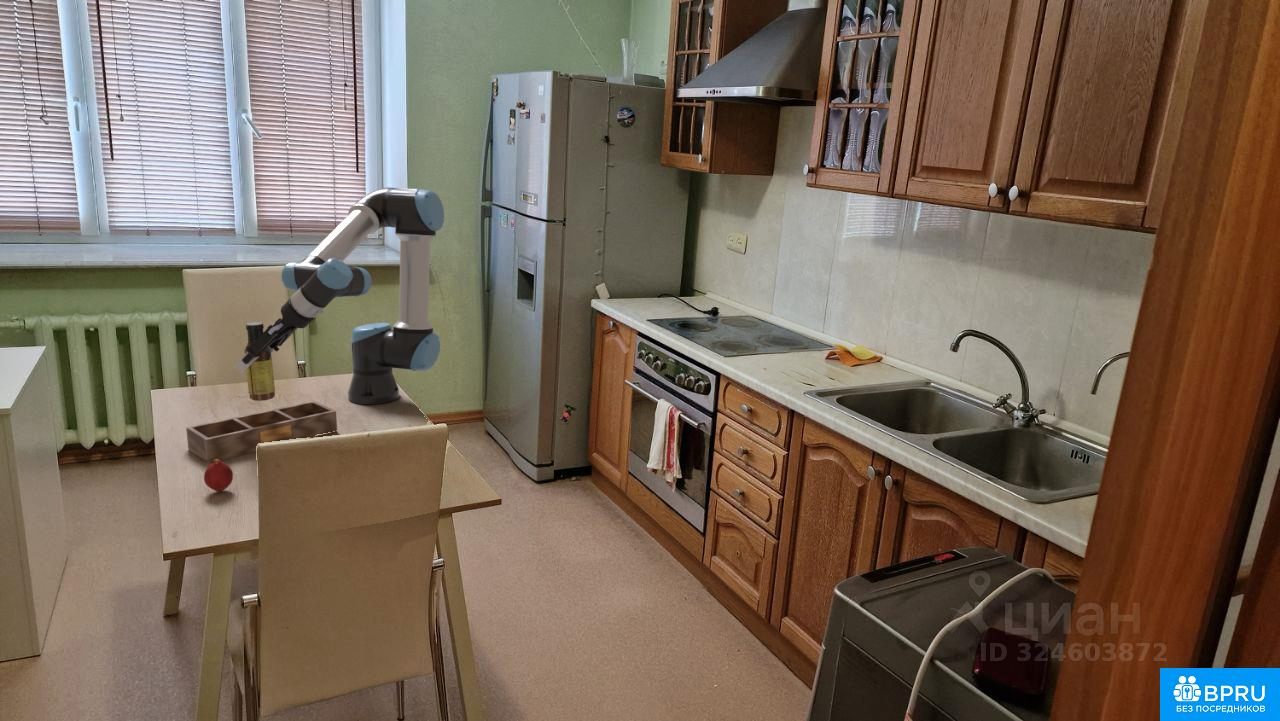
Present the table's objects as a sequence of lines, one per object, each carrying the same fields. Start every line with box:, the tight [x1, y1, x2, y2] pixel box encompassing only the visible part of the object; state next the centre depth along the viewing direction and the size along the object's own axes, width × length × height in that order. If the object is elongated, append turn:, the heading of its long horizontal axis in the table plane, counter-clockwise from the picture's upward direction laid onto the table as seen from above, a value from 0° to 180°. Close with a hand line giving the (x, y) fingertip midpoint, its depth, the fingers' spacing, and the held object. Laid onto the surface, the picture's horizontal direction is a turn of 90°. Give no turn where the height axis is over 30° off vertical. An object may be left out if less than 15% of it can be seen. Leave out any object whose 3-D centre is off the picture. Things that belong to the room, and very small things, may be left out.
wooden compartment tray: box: [185, 400, 338, 464], centre depth 217 cm, size 34×12×6 cm, turn 139°
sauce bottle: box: [244, 321, 276, 402], centre depth 212 cm, size 7×6×20 cm
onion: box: [203, 459, 234, 493], centre depth 185 cm, size 6×6×8 cm
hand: (246, 366), depth 213 cm, fingers closed on sauce bottle, 6 cm apart
